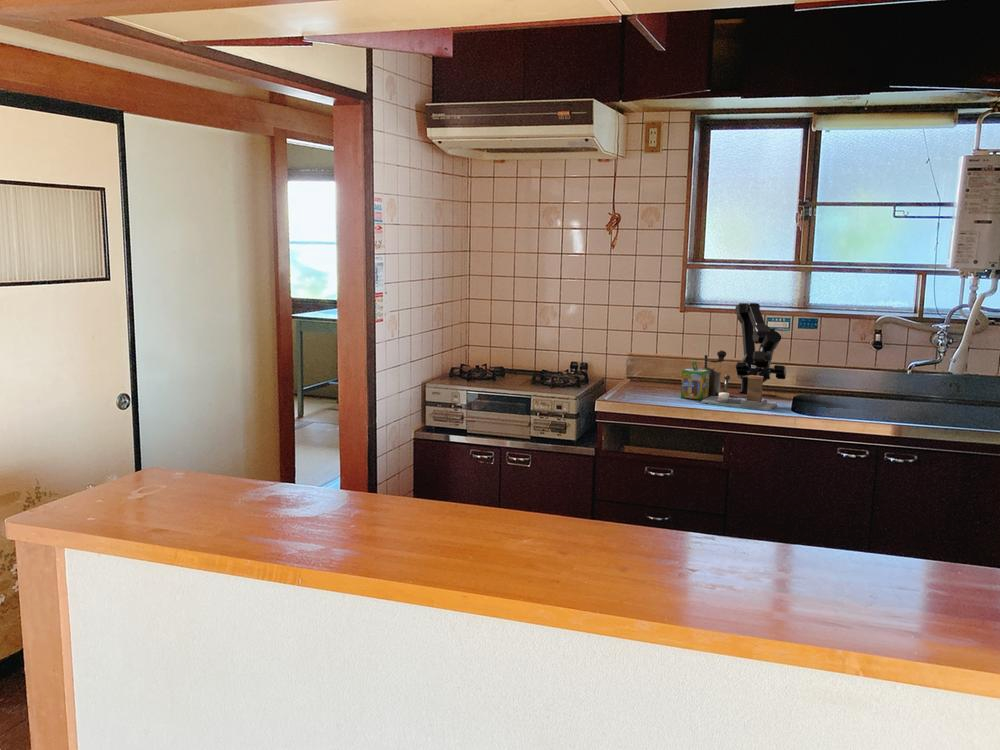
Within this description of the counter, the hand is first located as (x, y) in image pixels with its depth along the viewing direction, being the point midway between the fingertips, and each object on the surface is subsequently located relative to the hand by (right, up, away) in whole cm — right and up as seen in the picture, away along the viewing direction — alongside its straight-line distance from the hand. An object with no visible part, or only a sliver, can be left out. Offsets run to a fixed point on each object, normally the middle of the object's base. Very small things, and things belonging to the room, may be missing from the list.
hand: (756, 387), depth 331 cm
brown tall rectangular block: (-1, -6, -1) cm, 6 cm away
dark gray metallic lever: (-10, -3, +8) cm, 13 cm away
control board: (-6, -7, +3) cm, 9 cm away
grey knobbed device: (-12, -3, +28) cm, 31 cm away
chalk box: (-20, -5, +16) cm, 26 cm away
